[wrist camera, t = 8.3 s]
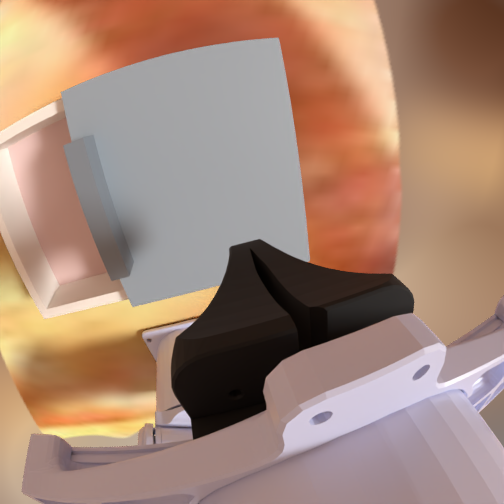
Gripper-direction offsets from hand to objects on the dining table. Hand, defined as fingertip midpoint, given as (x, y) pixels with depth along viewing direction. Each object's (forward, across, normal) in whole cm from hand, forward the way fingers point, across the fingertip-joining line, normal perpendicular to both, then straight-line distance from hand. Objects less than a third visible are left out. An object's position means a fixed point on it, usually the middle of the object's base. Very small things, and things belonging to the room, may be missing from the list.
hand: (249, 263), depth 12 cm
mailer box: (+10, +10, -3) cm, 15 cm away
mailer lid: (+6, +2, -3) cm, 7 cm away
